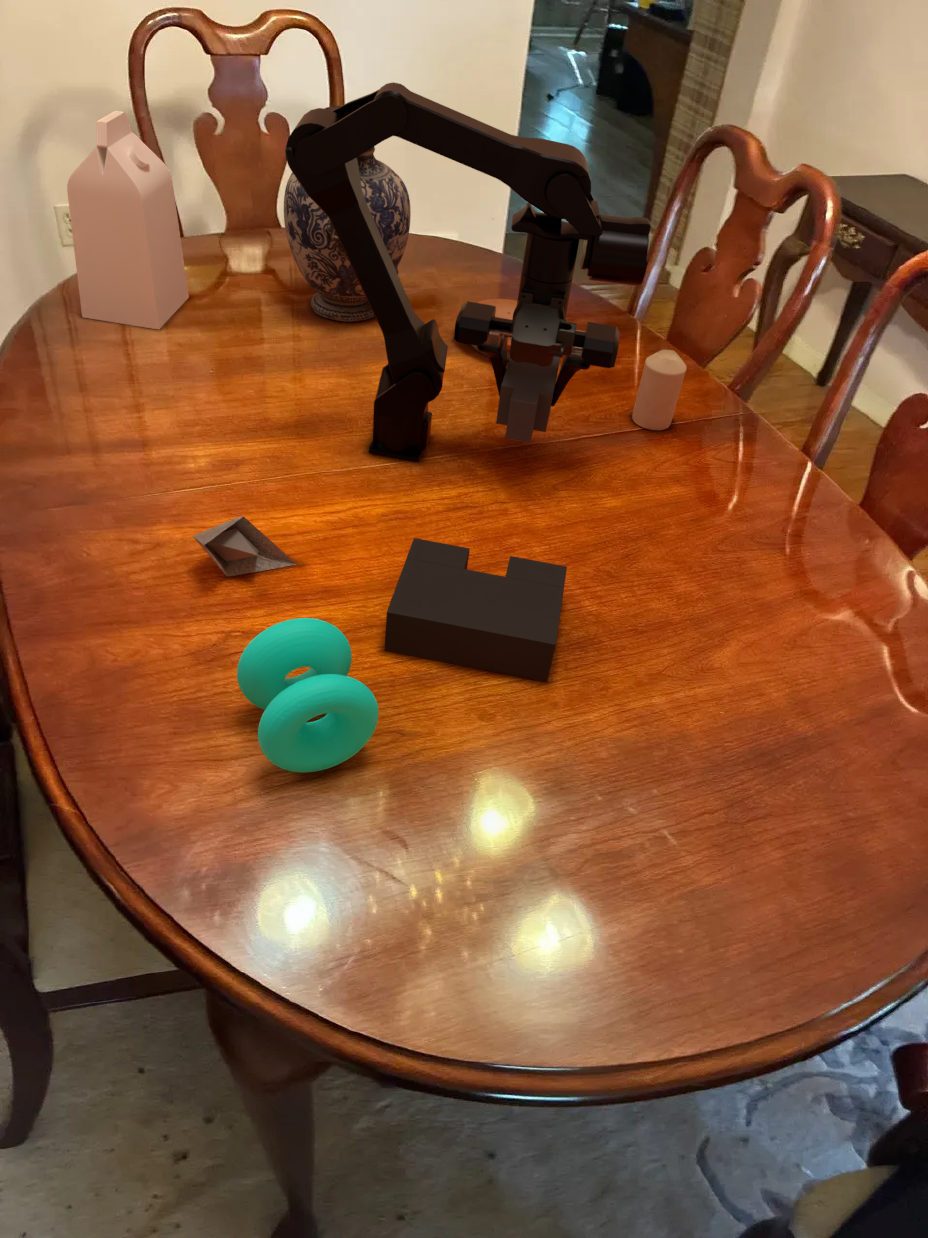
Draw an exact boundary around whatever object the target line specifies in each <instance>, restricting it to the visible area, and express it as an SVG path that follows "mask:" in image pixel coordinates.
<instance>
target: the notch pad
mask: <svg viewBox="0 0 928 1238" xmlns="http://www.w3.org/2000/svg"><path fill="white" fill-rule="evenodd" d="M470 551H471V548H470V547H465V546H459V545H455V544H448V543H443V542H438V541H433V540H427V539H421V538H417V537H414V538H413V539H412V542H411V545H410V547H409V550H408V552H407V556H406V558H405V561H404V564H403V566H402V569H401V572H400V575H399V578H398V581H397V583H396V586H395V588H394V591H393V594H392V597H391V599H390V603H389V604H388V607H387V611H386V618H385V619H386V620H385V635H384V651H386V652H390V653H391V652H392V653H397V654H400V655H401V654H402V655H406V656H411V657H417V658H422V659H427V660H433V661H438V662H442V663H448V664H453V665H457V666H463V667H469V668H473V669H478V670H482V671H488V672H494V673H499V674H503V675H509V676H513V677H519V678H525V679H529V680H534V681H540V682H545V683H547V682H548V680H549V676H550V673H551V672H550V671H551V668H552V663H553V658H554V655H555V650H556V646H557V640H558V633H559V626H560V619H561V611H562V604H563V596H564V592H565V585H566V584H565V583H566V576H567V569H568V566H566V565H561V564H556V563H549V562H545V561H539V560H533V559H528V558H523V557H519V556H513V555H509V559H508V560H509V561H508V564H507V569H506V573H505V576H504V575H498V574H493V573H488V572H482V571H477V570H471V569H468V567H469V566H468V565H469V557H470Z"/></svg>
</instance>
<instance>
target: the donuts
mask: <svg viewBox="0 0 928 1238" xmlns="http://www.w3.org/2000/svg"><path fill="white" fill-rule="evenodd" d="M352 654H353V653H352V648H351V644H350V643H349V640H348V638H347V637H346V634H344V633H343V631H341V630H340V629H339V628H338V627H337V626H335V625H334V624H332V623H330V622H328V621H326V620H323V619H320V618H314V617H298V618H290V619H286V620H284V621H279V622H277V623H275V624H273V625H271V626H268V627H267V628H265V629H264V630H262V631H261V632H260V633H258V634H257V635H255V637H254V638H252V640H250V642H249V643H248V644H247V645H246V646H245V648H244V649H243V651H242V653H241V655H240V658H239V660H238V662H237V668H236V678H237V684H238V688H239V690H240V691H241V693H242V694H243V696H244V697H245V699H247V700H248V702H250V703H251V704H252V705H254V706H256V707H257V708H259V709H260V710H261V709H262V710H264V711H263V712H262V715H261V717H260V719H259V724H258V728H257V742H258V744H259V747H260V750H261V752H262V754H263V755H264V756H265V758H266V759H267V760H268V761H269V762H270V763H272V764H273V765H274V766H276V767H278V768H280V769H281V770H285V771H289V772H293V773H315V772H321V771H325V770H328V769H331V768H333V767H336V766H338V765H340V764H343V763H345V762H346V761H348V760H349V759H351V758H352V757H353V756H355V755H356V754H357V753H359V752H360V751H361V750H363V748H364V747H365V746H366V745H367V744H368V742H370V740H371V738H372V737H373V735H374V733H375V731H376V728H377V725H378V722H379V715H380V710H379V704H378V701H377V698H376V697H375V694H374V693H373V692H372V691H371V689H370V688H369V687H368V686H367V685H366V684H365V683H363V682H362V681H360V680H359V679H357V678H354V677H351V676H348V675H349V673H350V670H351V667H352V659H353V655H352ZM300 668H308V670H306V671H304V672H303V673H301V674H299V675H296V676H293V677H287V676H288V675H289V674H290V673H292V672H293V671H295V670H297V669H300ZM321 715H324V716H322V717H321V718H319V719H317V720H314V721H310V720H311V719H314V718H316V717H318V716H321ZM308 721H309V722H308Z"/></svg>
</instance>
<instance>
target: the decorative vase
mask: <svg viewBox="0 0 928 1238" xmlns="http://www.w3.org/2000/svg"><path fill="white" fill-rule="evenodd" d="M340 106H341V105H331V106H326V107H324V108H323V109H329V110H331V111H332V110H334V109H336V108H338V107H340ZM375 151H376V146H374V147H372V148H371V149H369V150H368V151H366V152H365V153H363V154H361V155H360V156H358V157H357V161H358V167H359V173H360V180H361V186H362V192H363V196H364V198H365V201H366V203H367V205H368V208H369V210H370V212H371V214H372V217H373V219H374V221H375V224H376V226H377V228H378V231H379V233H380V235H381V237H382V240H383V242H384V244H385V247H386V249H387V251H388V253H389V256H390V258H391V260H392V263H393V265H394V267H395V270H396V272H397V274H398V275H399V269H398V267H399V265H400V263H401V260H402V259H403V256H404V254H405V250H406V247H407V244H408V240H409V235H410V228H411V212H412V211H411V199H410V194H409V191H408V188H407V186H406V184H405V182H404V181H403V179H402V178H401V176H400V175H398V173H396V172H395V170H393V169H392V168H391V167H390V166H389V165H387V164H386V163H384V162H382V161H381V160H378V159H376V157H375V155H374V153H375ZM283 222H284V223H283V224H284V228H285V234H286V239H287V242H288V245H289V248H290V251H291V254H292V257H293V259H294V261H295V264H296V266H297V268H298V270H299V272H300V273H301V275H302V277H303V278H304V280H305V282H306V283H307V284H308V285H309V286H310V288H311V289H313V290H314V291H315V292H316V293H314V294H313V295H312V297H311V300H310V306H311V309H312V311H313V312H314V313H316V314H317V315H319V316H321V317H322V318H325V319H327V320H331V321H336V322H342V323H343V322H344V323H357V322H364V321H367V320H371V319H372V318H374V317H375V315H374V313H373V311H372V309H371V307H370V305H369V303H368V300H367V298H366V296H365V294H364V292H363V290H362V288H361V285H360V283H359V281H358V279H357V277H356V275H355V272H354V270H353V268H352V266H351V264H350V262H349V260H348V257H347V255H346V253H345V251H344V249H343V247H342V245H341V242H340V240H339V238H338V236H337V234H336V232H335V230H334V227H333V225H332V223H331V221H330V219H329V218H328V216H327V215H326V214H325V212H324V211H323V210H322V209H321V208H320V207H319V206H318V205H317V204H316V203H315V202H314V201H313V200H312V199H311V198H310V197H309V196H308V195H307V193H306V192H305V190H304V189H303V187H302V186H301V184H300V183H299V181H298V180H297V178H296V177H295V175H294V174H293V172H292V171H291V174H290V175H289V178H288V179H287V182H286V184H285V189H284V196H283Z"/></svg>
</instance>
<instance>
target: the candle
mask: <svg viewBox="0 0 928 1238" xmlns="http://www.w3.org/2000/svg"><path fill="white" fill-rule="evenodd" d="M686 372H687V365H686V363H685V362H684V360H683V359H682V358H681V356H680V355H679V354H678V353H677V352H676V351H675V350H673V349H661V350H659V351H656V352H655V353H653V354H651V355H649V356H648V357H646V359H645V362H644V365H643V370H642V374H641V378H640V382H639V386H638V389H637V394H636V398H635V402H634V406H633V410H632V414H631V419H632V421H633V422H634V424H636V425H637V426H639V427H641V428H643V429H646V430H650V431H663V430H666V429H669V427H670V426H671V424H672V422H673V418H674V415H675V411H676V407H677V404H678V401H679V396H680V394H681V390H682V386H683V383H684V379H685V376H686Z"/></svg>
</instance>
